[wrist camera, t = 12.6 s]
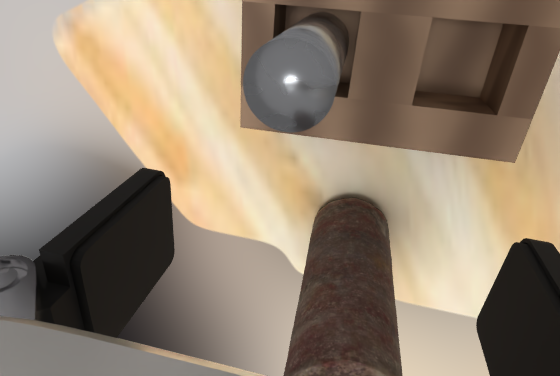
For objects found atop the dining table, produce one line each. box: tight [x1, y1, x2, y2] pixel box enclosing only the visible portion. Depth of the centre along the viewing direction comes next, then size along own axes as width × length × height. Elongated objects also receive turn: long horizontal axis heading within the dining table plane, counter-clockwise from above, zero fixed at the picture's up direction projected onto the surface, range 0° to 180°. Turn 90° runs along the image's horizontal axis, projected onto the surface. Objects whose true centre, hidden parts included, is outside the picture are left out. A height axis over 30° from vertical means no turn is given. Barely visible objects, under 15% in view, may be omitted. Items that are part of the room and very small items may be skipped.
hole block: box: [241, 0, 560, 163], centre depth 28 cm, size 20×12×6 cm, turn 86°
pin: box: [243, 12, 349, 133], centre depth 24 cm, size 4×4×14 cm
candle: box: [284, 198, 402, 376], centre depth 30 cm, size 8×7×20 cm
